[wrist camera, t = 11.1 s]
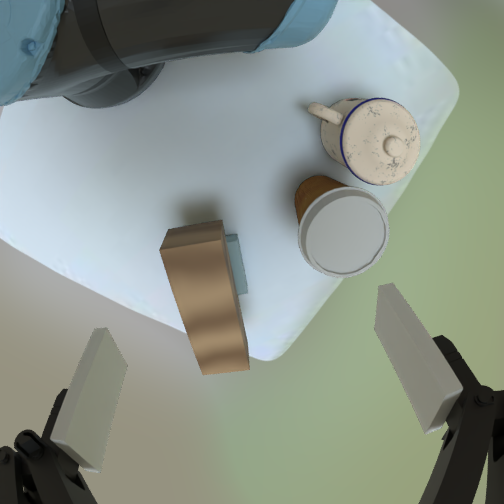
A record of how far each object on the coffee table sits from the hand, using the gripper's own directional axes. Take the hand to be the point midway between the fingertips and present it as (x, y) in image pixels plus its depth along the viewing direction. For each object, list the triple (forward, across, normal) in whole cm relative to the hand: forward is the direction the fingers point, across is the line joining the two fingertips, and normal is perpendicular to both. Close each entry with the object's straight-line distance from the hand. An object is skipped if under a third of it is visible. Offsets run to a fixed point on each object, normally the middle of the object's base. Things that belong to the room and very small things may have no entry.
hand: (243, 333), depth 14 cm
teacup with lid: (+27, +14, +5) cm, 31 cm away
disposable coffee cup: (+27, +10, -4) cm, 29 cm away
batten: (+21, -5, -11) cm, 24 cm away
